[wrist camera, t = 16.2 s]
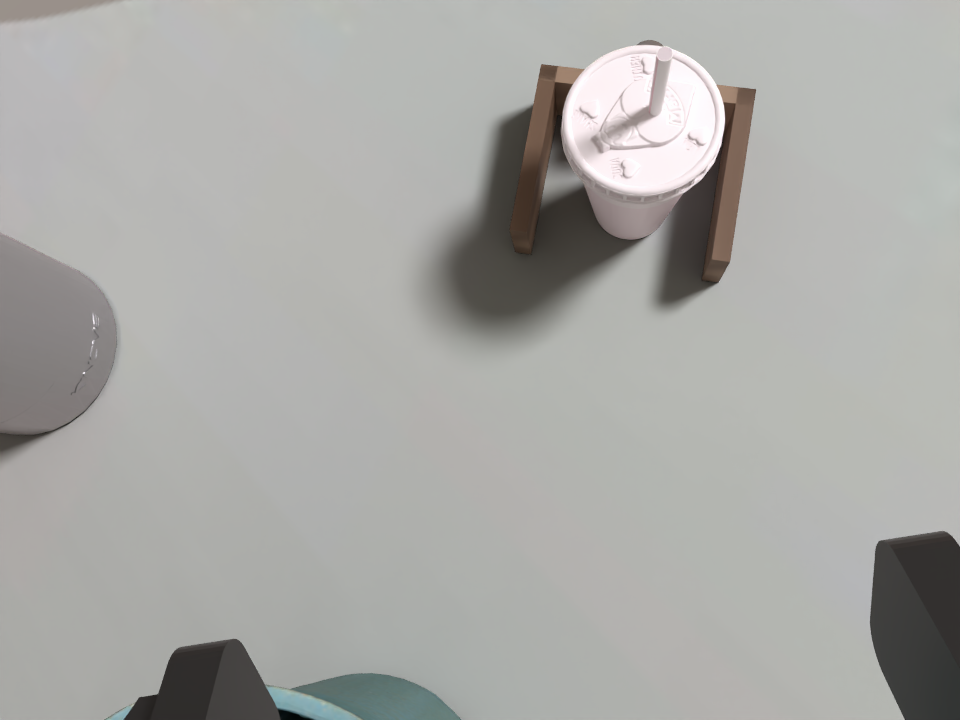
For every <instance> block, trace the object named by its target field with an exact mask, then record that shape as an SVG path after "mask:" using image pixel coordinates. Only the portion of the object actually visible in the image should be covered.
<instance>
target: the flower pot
mask: <svg viewBox="0 0 960 720" xmlns="http://www.w3.org/2000/svg"><path fill="white" fill-rule="evenodd" d="M265 686H266V688H267V690H268V691H269V693H270V695H271V697H272V699H273V701H274V702H275V704H276V707H277V709H278V712H279V716H280V720H461V719H460V718H459V717H458V716H457V715H456V714H455V712H454V711H452V710H451V709H450V708H449V707H448V706H447V705H446V704H445V703H444V702H443V701H442V700H441V699H440V698H439V697H437V696H436V695H435V694H434V693H432V692H430V691H429V690H427V689H425V688H423V687H421V686H419V685H417V684H415V683H412V682H410V681H407V680H404V679H401V678H397V677H393V676H389V675H381V674H373V673H369V674H350V675H344V676H340V677H335V678H331V679H327V680H323V681H319V682H316V683H312V684H308V685H303V686H299V687H296V688H292V689H286V688H281V687H276V686H270V685H265ZM157 695H158V694H157ZM135 703H136V702H135ZM135 703H133V704H131V705H129V706H127V707H125V708H123V709H121V710H119V711H118V712H116V713H115V714H113V715H111V716H110V717H108V718H106V719H105V720H124V718H125V717H126V715H127V714H128V713H129V711H130V710H131V708H132V707H133V706H134V704H135Z"/></svg>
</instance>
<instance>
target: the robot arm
mask: <svg viewBox="0 0 960 720" xmlns="http://www.w3.org/2000/svg"><path fill="white" fill-rule="evenodd" d="M116 346H117V337H116V324H115V320H114V316H113V312H112V309H111V307H110V305H109V303H108V301H107V299H106V297H105V295H104V293H103V292H102V291H101V290H100V289H99V288H98V286H97V285H96V284H95V283H94V282H93V281H92V280H91V279H89V278H88V277H87V276H85V275H84V274H82V273H81V272H80V271H78V270H76V269H74V268H72V267H69V266H67V265H65V264H63V263H61V262H59V261H57V260H55V259H53V258H51V257H49V256H47V255H45V254H43V253H41V252H39V251H37V250H35V249H33V248H31V247H29V246H27V245H25V244H23V243H21V242H19V241H17V240H15V239H13V238H11V237H9V236H7V235H4V234H2V233H0V432H1V433H8V434H14V435H36V434H40V433H44V432H48V431H52V430H54V429H56V428H59V427H61V426H63V425H65V424H67V423H69V422H70V421H72V420H73V419H74V418H76V417H77V416H78V415H80V414H81V413H82V412H84V411H85V410H86V409H87V408H88V406H89V405H90V404H91V403H92V402H93V401H94V400H95V399H96V397H97V396H98V395H99V393H100V391H101V390H102V388H103V386H104V385H105V383H106V381H107V380H108V377H109V374H110V371H111V369H112V366H113V363H114V358H115V352H116ZM870 628H871V635H872V641H873V645H874V649H875V653H876V656H877V659H878V662H879V665H880V667H881V670H882V672H883V674H884V677H885V679H886V681H887V683H888V685H889V687H890V689H891V691H892V693H893V695H894V698H895V700H896V702H897V704H898V706H899V708H900V710H901V712H902V714H903V717H904V719H905V720H960V546H959V545H958V543H957V542H956V541H955V539H954V538H953V537H952V536H951V535H950V534H948V533H947V532H945V531H939V532H933V533H926V534H920V535H913V536H907V537H901V538H894V539H888V540H881V541H879V542H878V544H877V546H876V551H875V563H874V576H873V589H872V601H871V614H870ZM124 720H280V716H279V712H278V709H277V707H276V704H275V702H274V701H273V699H272V697H271V695H270V693H269V691H268V690H267V688H266V686H265V684H264V682H263V680H262V679H261V677H260V675H259V673H258V671H257V669H256V668H255V666H254V664H253V662H252V660H251V658H250V657H249V655H248V653H247V651H246V649H245V648H244V646H243V644H242V643H241V642H240V641H239V640H237V639H230V640H223V641H217V642H211V643H204V644H198V645H191V646H185V647H180V648H178V649H176V650H175V651H174V653H173V654H172V656H171V657H170V660H169V662H168V665H167V668H166V671H165V674H164V678H163V681H162V684H161V687H160V690H159V693H158V695H152V696H145V697H139V699H138V700H137V702H136V703H135V704H134V706H133V707H132V708H131V710H130V711H129V713H128V714H127V715H126V717H125V718H124Z"/></svg>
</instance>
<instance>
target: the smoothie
mask: <svg viewBox="0 0 960 720" xmlns="http://www.w3.org/2000/svg"><path fill="white" fill-rule="evenodd" d="M724 125H725V111H724V105H723V101H722V97H721V94H720V92H719V89H718V87H717V85H716V84H715V82H714V80H713V79H712V77H711V76H710V75H709V74H708V72H707V71H706V70H705V69H704V68H703V67H702V66H701V65H699V64H698V63H697V62H696V61H694V60H693V59H691V58H690V57H688V56H686V55H685V54H683V53H680V52H678V51H676V50H673V49H671V48H669V47H666V46H664V47H661V46H654V45H637V46H630V47H625V48H621V49H618V50H615V51H613V52H610V53H608V54H606V55H604V56H602V57H600V58H599V59H597V60H596V61H594V62H593V63H592V64H591V65H589V66H588V67H587V68H586V69H585V70H584V71H583V72H582V73H581V74H580V75H579V77H578V78H577V79H576V81H575V82H574V84H573V85H572V87H571V89H570V91H569V93H568V95H567V98H566V101H565V104H564V109H563V116H562V126H561V137H562V144H563V150H564V153H565V155H566V157H567V160H568V162H569V164H570V166H571V168H572V170H573V171H574V172H575V173H576V174H577V176H578V177H579V178H580V179H581V180H582V181H583V183H584V186H585V189H586V191H587V194H588V197H589V200H590V203H591V206H592V208H593V211H594V214H595V217H596V219H597V221H598V223H599V224H600V225H601V227H602V228H603V229H604V230H605V231H607V232H608V233H609V234H611V235H613V236H615V237H618V238H621V239H628V240H633V239H639V238H643V237H646V236H648V235H650V234H651V233H653V232H654V231H655V230H657V229H658V228H659V227H660V225H661V224H662V223H663V221H664V220H665V219H666V217H667V216H668V214H669V213H670V212H671V210H672V209H673V207H674V206H675V204H676V203H677V202H678V200H679V199H680V197H681V196H682V195H683V193H685V192H686V191H688V190H689V189H690V188H691V187H693V186H694V185H695V184H697V183H698V182H699V181H700V180H702V178H703V177H704V176H705V174H706V173H707V172H708V170H709V169H710V168H711V166H712V165H713V164H714V162H715V159H716V157H717V154H718V152H719V149H720V147H721V144H722V136H723V132H724Z"/></svg>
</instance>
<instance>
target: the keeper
mask: <svg viewBox="0 0 960 720" xmlns="http://www.w3.org/2000/svg"><path fill="white" fill-rule="evenodd" d="M637 45H654V46H661V47H664V46H663V45H662V44H660V43H659V42H657V41H652V40H647V41H643V42H640V43H639V44H637ZM637 45H636V46H637ZM584 70H585V69H577V68H569V67H560V66H551V65H543V64H541V68H540V73H539V79H538V84H537V89H536V94H535V99H534V104H533V110H532V115H531V120H530V125H529V130H528V136H527V141H526V146H525V151H524V156H523V162H522V167H521V172H520V177H519V182H518V188H517V193H516V198H515V203H514V208H513V214H512V219H511V224H510V229H509V230H510V234H511V238H512V241H513V245H514V249H515V252H518V253H524V254H531V253H532V247H533V242H534V237H535V231H536V226H537V221H538V215H539V210H540V205H541V199H542V194H543V189H544V183H545V178H546V173H547V168H548V162H549V157H550V152H551V146H552V141H553V136H554V130H555V125H556V120H557V115H562V116H563V109H564V104H565V101H566V98H567V95H568V93H569V91H570V89H571V87H572V85H573V84H574V82H575V81H576V79H577V78H578V77H579V75H580V74H581V73H582V72H583V71H584ZM717 87H718V89H719V92H720V94H721V97H722V101H723V105H724V111H725V125H724V132H723V136H724V140H723V147H722V153H721V159H720V166H719V172H718V179H717V185H716V191H715V198H714V204H713V211H712V217H711V223H710V230H709V236H708V243H707V249H706V256H705V262H704V268H703V275H702V280H704V281H711V282H719V281H720V279H721V277H722V275H723V273H724V272H725V270H726V268H727V266H728V264H729V263H730V258H731V251H732V245H733V238H734V232H735V225H736V218H737V212H738V205H739V199H740V192H741V185H742V179H743V172H744V166H745V159H746V152H747V146H748V139H749V133H750V126H751V119H752V113H753V106H754V100H755V93H756V89H748V88H739V87H731V86H722V85H717Z"/></svg>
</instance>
